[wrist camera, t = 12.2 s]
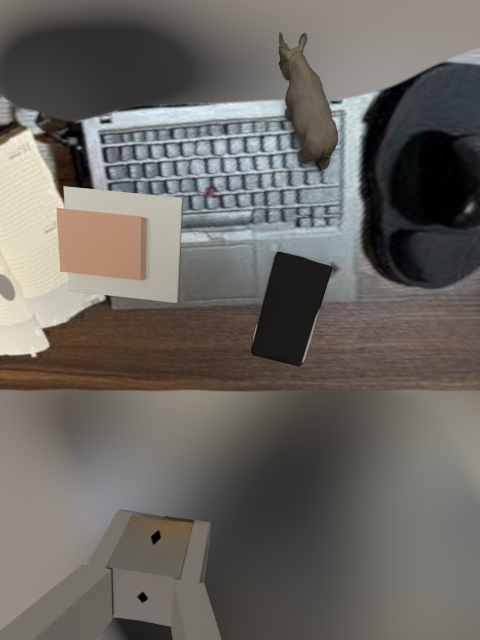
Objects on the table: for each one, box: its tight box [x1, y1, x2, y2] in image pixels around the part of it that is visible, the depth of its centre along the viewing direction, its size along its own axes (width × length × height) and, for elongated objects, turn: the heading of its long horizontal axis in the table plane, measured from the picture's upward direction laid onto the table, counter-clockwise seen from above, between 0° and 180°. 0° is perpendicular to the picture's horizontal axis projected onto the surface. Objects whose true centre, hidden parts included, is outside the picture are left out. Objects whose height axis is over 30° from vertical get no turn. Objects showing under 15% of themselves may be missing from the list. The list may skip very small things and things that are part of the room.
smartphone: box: [251, 252, 332, 366], centre depth 38 cm, size 8×1×15 cm
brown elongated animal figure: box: [279, 32, 338, 169], centre depth 30 cm, size 4×14×6 cm, turn 23°
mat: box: [64, 187, 183, 303], centre depth 37 cm, size 16×14×1 cm
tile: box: [57, 208, 149, 280], centre depth 36 cm, size 2×8×11 cm
